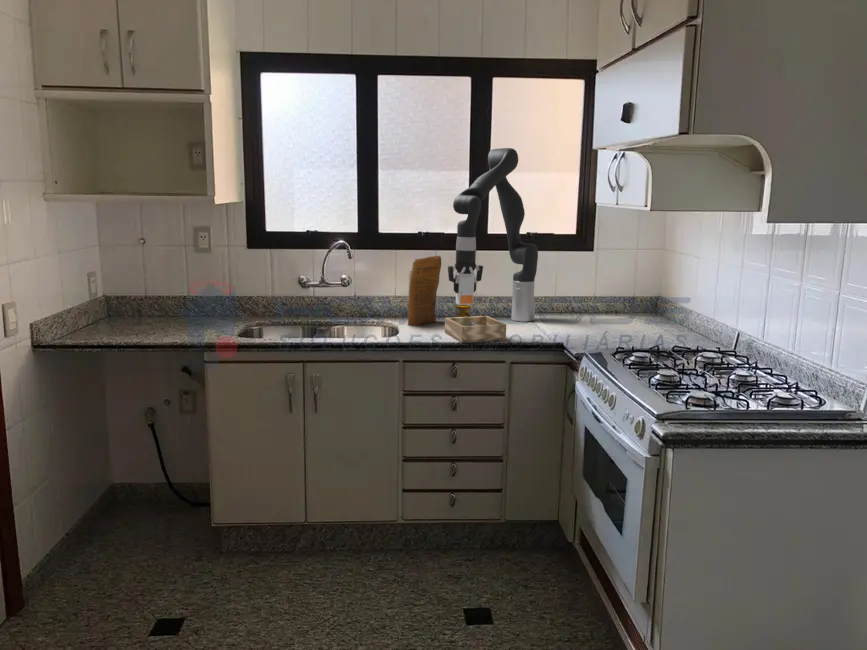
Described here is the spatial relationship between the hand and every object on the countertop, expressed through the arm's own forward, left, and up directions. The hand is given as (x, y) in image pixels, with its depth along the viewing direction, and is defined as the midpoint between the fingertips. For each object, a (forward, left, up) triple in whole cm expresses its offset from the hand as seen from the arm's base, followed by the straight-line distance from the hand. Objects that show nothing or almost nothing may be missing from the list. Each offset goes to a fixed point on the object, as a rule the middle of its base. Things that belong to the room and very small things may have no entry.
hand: (464, 292), depth 278 cm
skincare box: (0, 0, -5) cm, 5 cm away
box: (-3, +3, -17) cm, 18 cm away
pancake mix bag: (+8, -26, -17) cm, 32 cm away
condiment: (-4, -15, -17) cm, 23 cm away
